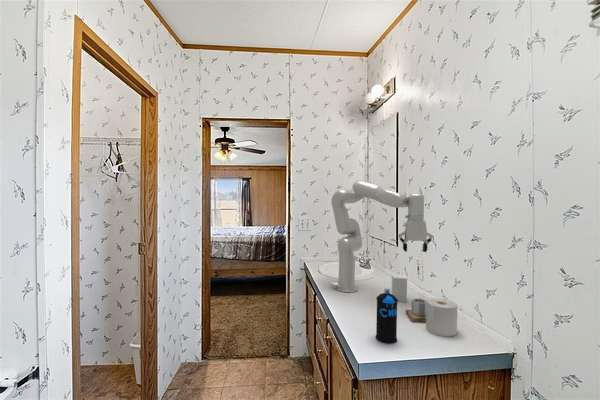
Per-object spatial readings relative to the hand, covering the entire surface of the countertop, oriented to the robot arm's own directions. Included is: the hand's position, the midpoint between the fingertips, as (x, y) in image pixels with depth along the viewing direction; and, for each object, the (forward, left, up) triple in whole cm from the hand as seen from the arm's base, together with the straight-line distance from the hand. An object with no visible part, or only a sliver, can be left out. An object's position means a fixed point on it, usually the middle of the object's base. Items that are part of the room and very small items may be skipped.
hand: (415, 251), depth 155 cm
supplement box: (-5, +10, -28) cm, 31 cm away
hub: (-2, -15, -26) cm, 30 cm away
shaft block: (-2, -15, -28) cm, 32 cm away
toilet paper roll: (+3, -27, -29) cm, 39 cm away
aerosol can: (-22, -37, -28) cm, 52 cm away
